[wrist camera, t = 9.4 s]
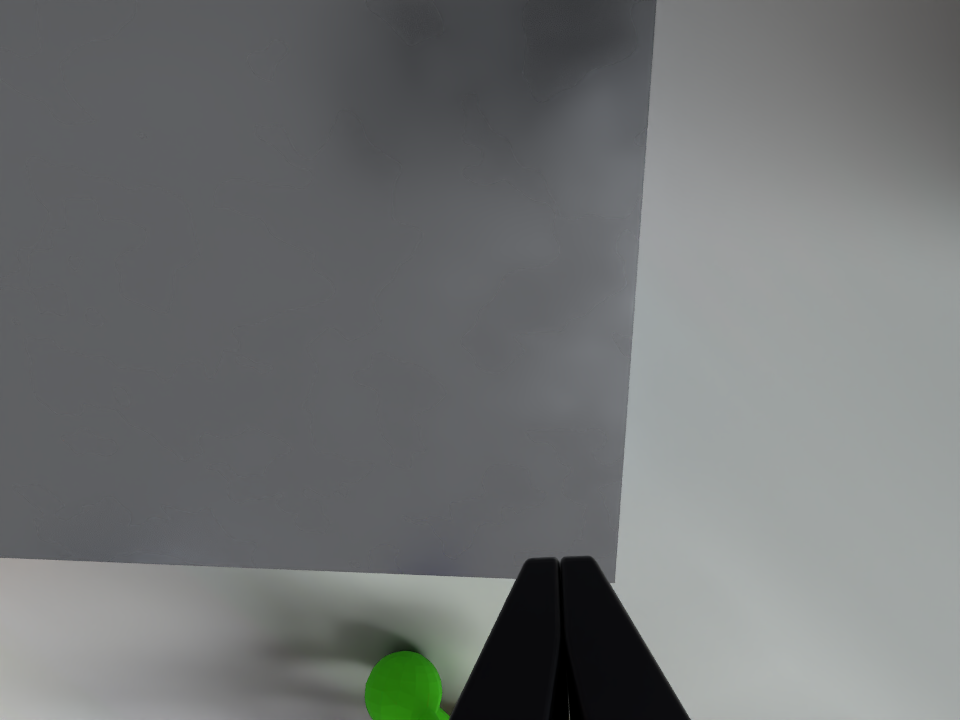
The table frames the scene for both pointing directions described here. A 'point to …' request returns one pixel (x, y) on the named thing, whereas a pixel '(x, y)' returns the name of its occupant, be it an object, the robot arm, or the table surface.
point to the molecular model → (404, 689)
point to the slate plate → (319, 280)
